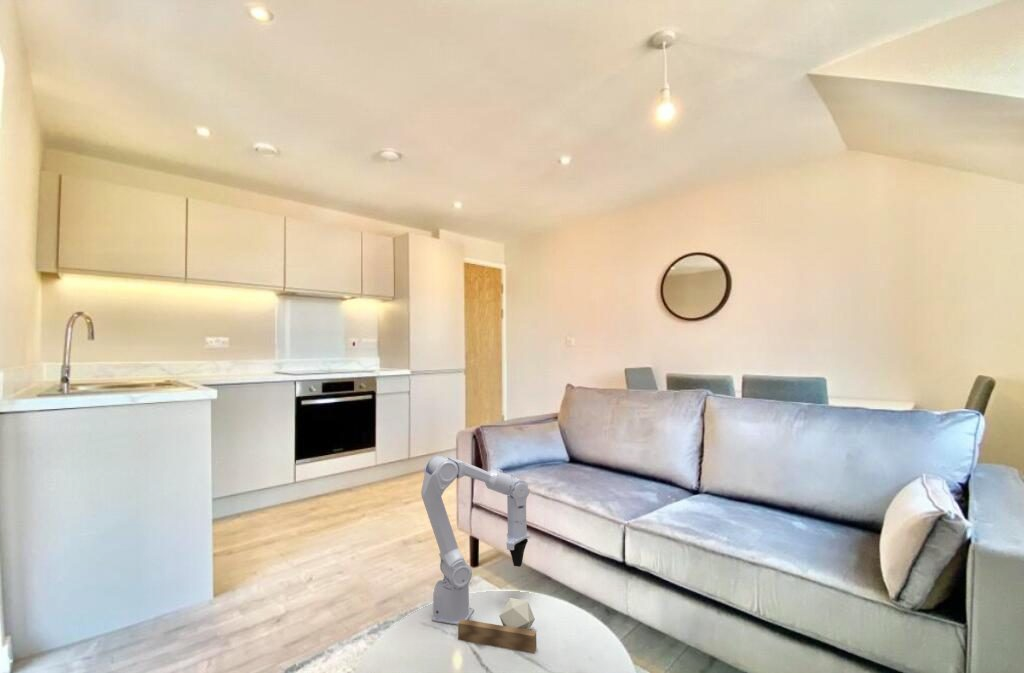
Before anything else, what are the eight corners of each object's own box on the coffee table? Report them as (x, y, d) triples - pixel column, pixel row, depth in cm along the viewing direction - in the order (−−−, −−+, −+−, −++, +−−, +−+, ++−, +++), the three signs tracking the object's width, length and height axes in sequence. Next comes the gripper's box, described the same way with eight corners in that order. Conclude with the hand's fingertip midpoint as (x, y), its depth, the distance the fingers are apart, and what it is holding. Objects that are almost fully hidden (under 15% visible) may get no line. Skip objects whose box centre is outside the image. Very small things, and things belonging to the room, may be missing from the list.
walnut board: (458, 639, 110) (458, 623, 110) (461, 635, 112) (461, 618, 112) (534, 653, 104) (534, 636, 104) (536, 648, 106) (536, 631, 106)
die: (539, 630, 114) (524, 591, 120) (538, 630, 107) (523, 589, 112) (511, 645, 113) (497, 605, 118) (508, 646, 106) (494, 604, 111)
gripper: (523, 528, 123) (523, 578, 122) (535, 512, 137) (536, 556, 136) (499, 526, 126) (500, 575, 124) (514, 510, 139) (514, 554, 138)
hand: (517, 565), depth 130 cm, fingers closed
